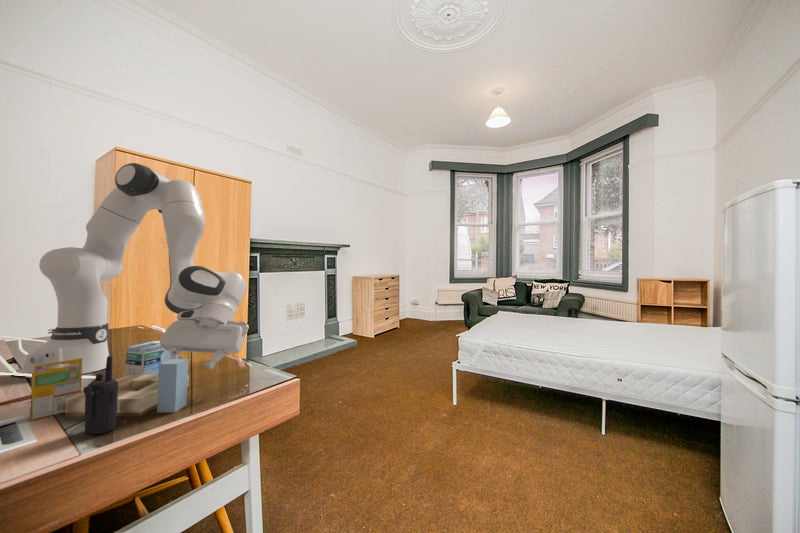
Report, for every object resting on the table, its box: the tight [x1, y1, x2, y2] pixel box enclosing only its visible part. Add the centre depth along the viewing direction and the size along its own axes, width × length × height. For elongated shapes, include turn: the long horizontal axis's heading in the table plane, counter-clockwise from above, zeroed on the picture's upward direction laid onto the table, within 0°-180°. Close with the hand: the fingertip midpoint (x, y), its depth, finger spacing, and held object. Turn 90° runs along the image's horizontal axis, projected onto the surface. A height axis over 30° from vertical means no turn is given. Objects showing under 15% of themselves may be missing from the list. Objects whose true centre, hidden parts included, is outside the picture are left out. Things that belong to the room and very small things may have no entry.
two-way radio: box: [82, 355, 118, 435], centre depth 59 cm, size 6×4×15 cm
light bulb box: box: [124, 339, 179, 376], centre depth 89 cm, size 11×7×11 cm, turn 168°
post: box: [156, 358, 189, 413], centre depth 70 cm, size 4×4×11 cm
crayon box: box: [29, 358, 83, 421], centre depth 67 cm, size 7×3×12 cm, turn 145°
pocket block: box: [64, 374, 190, 418], centre depth 74 cm, size 16×16×4 cm
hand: (189, 366), depth 77 cm, fingers open, 8 cm apart
